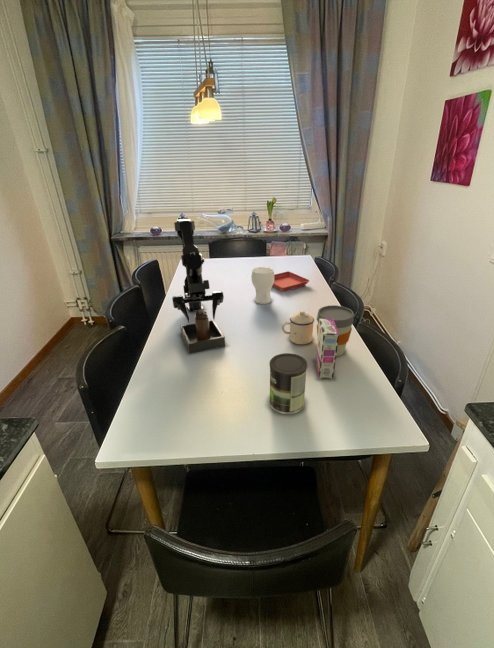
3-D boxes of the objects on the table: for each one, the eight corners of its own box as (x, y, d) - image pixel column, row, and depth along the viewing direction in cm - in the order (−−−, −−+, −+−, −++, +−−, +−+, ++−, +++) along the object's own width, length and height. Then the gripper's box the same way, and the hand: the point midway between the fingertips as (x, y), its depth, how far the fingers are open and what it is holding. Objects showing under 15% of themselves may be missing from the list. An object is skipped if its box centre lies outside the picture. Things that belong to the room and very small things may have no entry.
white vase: (272, 305, 162) (272, 274, 154) (249, 304, 163) (249, 273, 156) (275, 297, 170) (276, 267, 163) (254, 295, 172) (253, 265, 164)
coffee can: (271, 416, 98) (271, 374, 90) (267, 393, 106) (267, 354, 99) (307, 413, 98) (311, 372, 91) (300, 391, 107) (303, 351, 100)
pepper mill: (200, 338, 136) (196, 306, 128) (212, 339, 134) (209, 307, 127) (195, 344, 131) (191, 311, 124) (208, 345, 130) (204, 312, 123)
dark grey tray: (181, 334, 139) (180, 325, 137) (214, 328, 143) (213, 319, 141) (189, 353, 127) (188, 344, 125) (225, 346, 131) (224, 336, 129)
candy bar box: (334, 379, 112) (339, 334, 103) (318, 379, 112) (322, 334, 103) (329, 360, 121) (334, 317, 113) (314, 360, 122) (318, 317, 113)
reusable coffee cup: (307, 345, 130) (310, 308, 122) (336, 338, 134) (340, 302, 126) (326, 362, 120) (330, 323, 113) (356, 354, 125) (362, 316, 117)
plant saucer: (309, 286, 182) (310, 279, 181) (282, 293, 174) (282, 287, 172) (288, 276, 195) (288, 270, 194) (261, 283, 187) (261, 277, 185)
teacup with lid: (311, 333, 138) (313, 306, 132) (314, 344, 131) (316, 316, 125) (280, 333, 138) (281, 306, 132) (282, 345, 131) (283, 317, 125)
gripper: (168, 275, 123) (174, 316, 120) (221, 270, 127) (228, 310, 123) (171, 288, 134) (176, 326, 130) (219, 283, 137) (225, 320, 134)
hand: (201, 320), depth 129 cm, fingers open, 9 cm apart
